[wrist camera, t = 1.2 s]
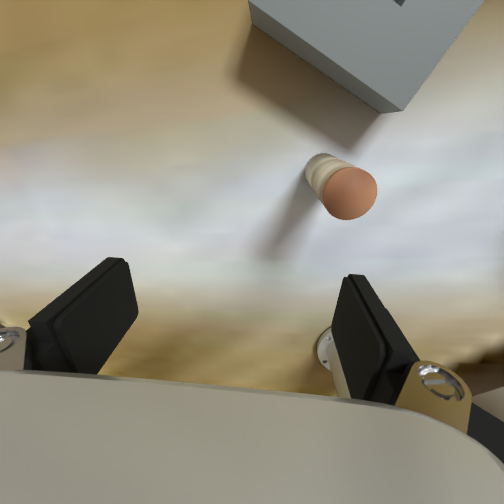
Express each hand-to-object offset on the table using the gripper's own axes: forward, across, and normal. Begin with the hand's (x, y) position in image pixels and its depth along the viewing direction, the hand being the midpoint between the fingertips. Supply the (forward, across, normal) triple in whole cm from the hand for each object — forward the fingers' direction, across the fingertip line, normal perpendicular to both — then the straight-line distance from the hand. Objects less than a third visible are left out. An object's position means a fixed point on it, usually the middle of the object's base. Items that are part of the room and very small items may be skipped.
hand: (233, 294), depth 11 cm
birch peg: (+23, -8, -2) cm, 24 cm away
